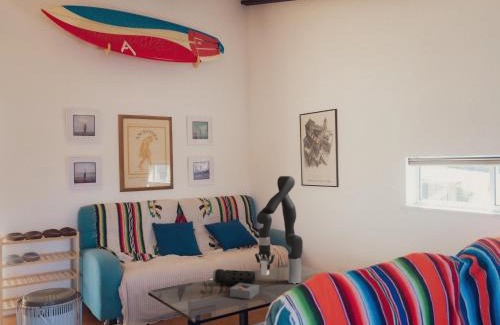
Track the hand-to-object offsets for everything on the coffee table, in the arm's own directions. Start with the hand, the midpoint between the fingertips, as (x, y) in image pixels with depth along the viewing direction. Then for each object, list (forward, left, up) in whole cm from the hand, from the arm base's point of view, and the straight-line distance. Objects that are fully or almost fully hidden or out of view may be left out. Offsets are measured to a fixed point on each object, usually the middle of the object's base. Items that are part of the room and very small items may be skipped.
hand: (265, 269), depth 287 cm
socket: (+14, -8, -14) cm, 21 cm away
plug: (0, 0, -3) cm, 3 cm away
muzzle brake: (-2, -24, -14) cm, 28 cm away
